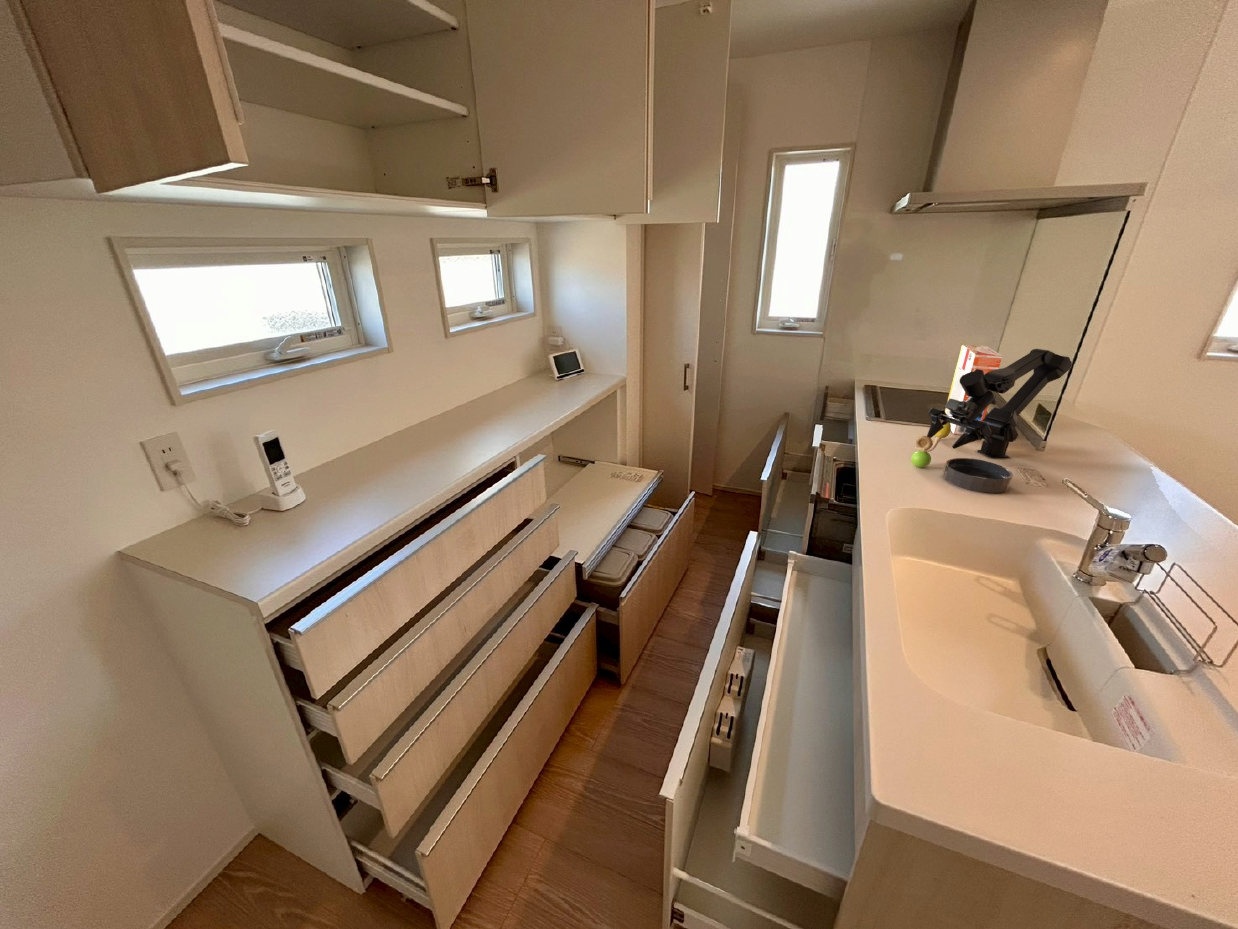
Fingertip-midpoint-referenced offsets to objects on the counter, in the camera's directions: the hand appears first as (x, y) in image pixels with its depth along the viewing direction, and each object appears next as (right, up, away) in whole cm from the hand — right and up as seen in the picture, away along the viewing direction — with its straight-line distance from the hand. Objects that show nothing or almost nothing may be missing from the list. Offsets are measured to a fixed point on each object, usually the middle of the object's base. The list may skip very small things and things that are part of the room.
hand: (939, 442), depth 157 cm
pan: (+4, -12, -10) cm, 16 cm away
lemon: (+16, +2, +25) cm, 30 cm away
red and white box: (+33, +8, +39) cm, 52 cm away
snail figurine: (-5, -8, +1) cm, 10 cm away
